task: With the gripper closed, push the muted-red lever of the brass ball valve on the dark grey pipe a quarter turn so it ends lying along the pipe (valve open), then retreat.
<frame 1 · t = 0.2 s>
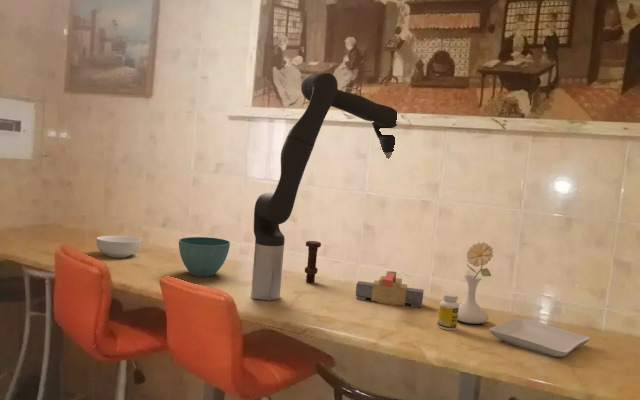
hand: (399, 203, 211), 31 cm above the bar counter, tool tilted 20°, fingers open, 8 cm apart
lever: (389, 278, 181), point 9 cm above the bar counter, hinge at 0.0°
cereal bowl: (118, 256, 223), on the bar counter
salad plate: (538, 345, 156), on the bar counter
bolt: (310, 282, 206), on the bar counter
flower in vase: (470, 322, 171), on the bar counter
supplement bottle: (446, 328, 163), on the bar counter
pipe and valve: (388, 301, 188), on the bar counter
teal bowl: (202, 274, 204), on the bar counter
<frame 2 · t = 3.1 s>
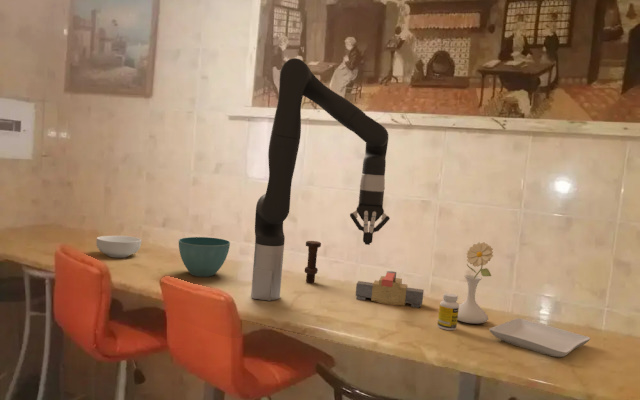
hand: (367, 244, 176), 20 cm above the bar counter, tool pointing down, fingers closed
nothing on the bar counter moved.
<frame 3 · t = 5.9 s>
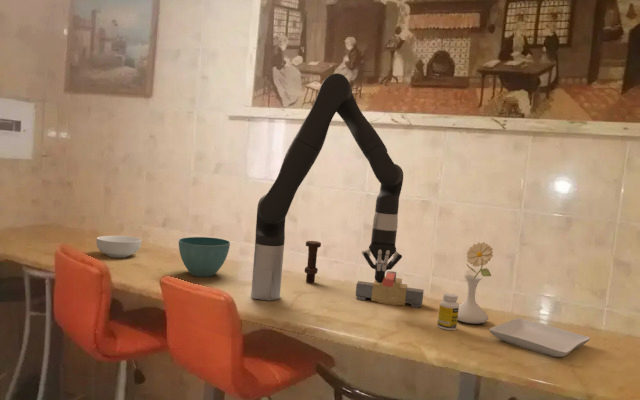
hand: (379, 282, 176), 9 cm above the bar counter, tool pointing down, fingers closed
lever: (389, 279, 180), point 9 cm above the bar counter, hinge at 1.3°, touching gripper
everything else where it was.
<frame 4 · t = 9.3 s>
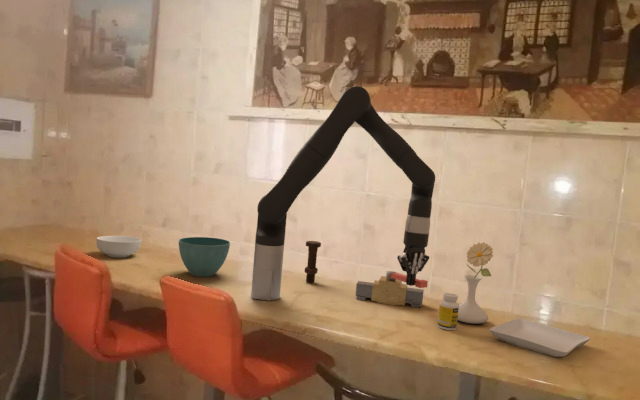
hand: (410, 284, 176), 9 cm above the bar counter, tool pointing down, fingers closed
lever: (405, 279, 182), point 9 cm above the bar counter, hinge at 49.7°, touching gripper
everything else where it was.
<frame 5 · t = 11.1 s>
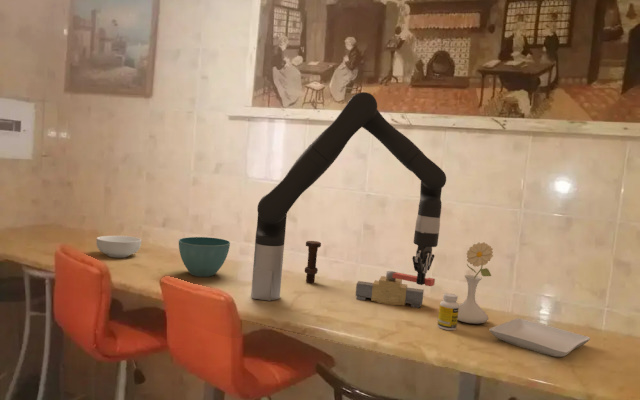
hand: (420, 284, 178), 9 cm above the bar counter, tool pointing down, fingers closed
lever: (409, 278, 183), point 9 cm above the bar counter, hinge at 71.2°, touching gripper
everything else where it was.
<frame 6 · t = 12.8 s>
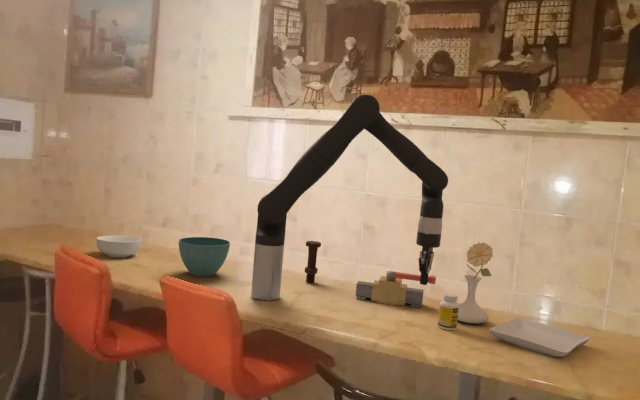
hand: (423, 284, 181), 8 cm above the bar counter, tool pointing down, fingers closed
lever: (410, 277, 185), point 9 cm above the bar counter, hinge at 89.0°
everything else where it was.
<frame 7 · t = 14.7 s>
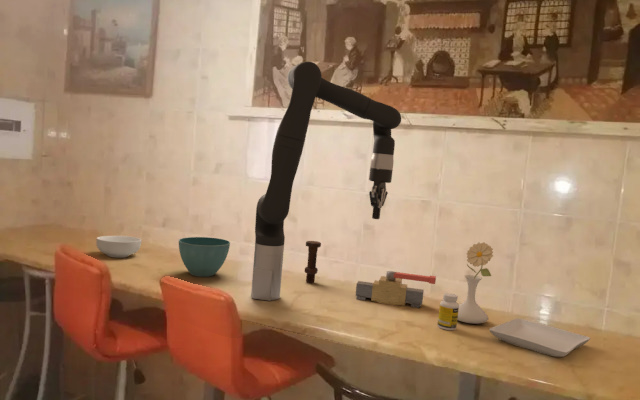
hand: (375, 218, 189), 27 cm above the bar counter, tool pointing down, fingers closed
nothing on the bar counter moved.
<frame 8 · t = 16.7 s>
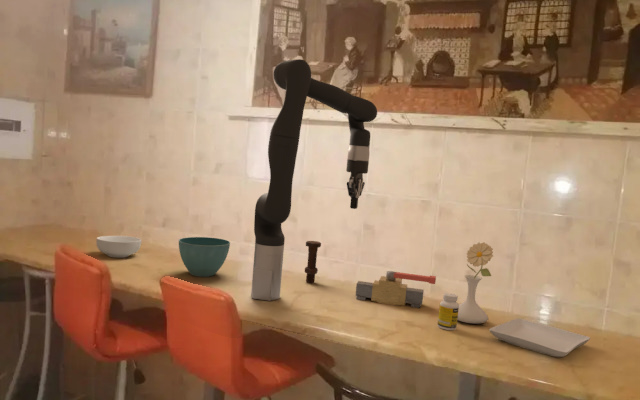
hand: (353, 208, 197), 29 cm above the bar counter, tool pointing down, fingers closed
nothing on the bar counter moved.
at the end: lever at +89° (first picture: +0°); lever touching nothing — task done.
